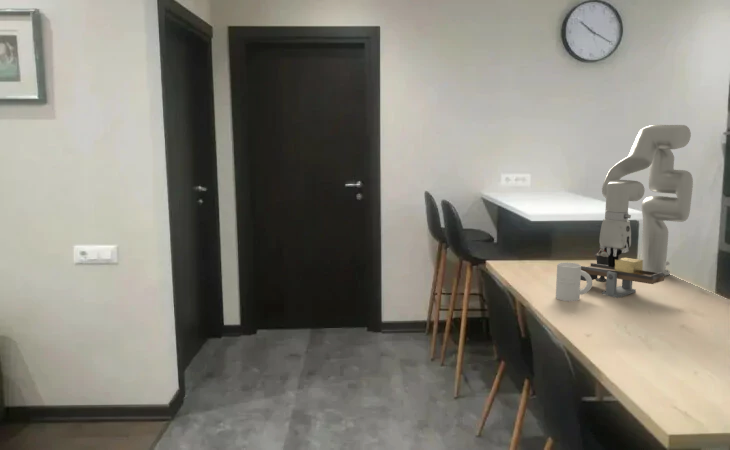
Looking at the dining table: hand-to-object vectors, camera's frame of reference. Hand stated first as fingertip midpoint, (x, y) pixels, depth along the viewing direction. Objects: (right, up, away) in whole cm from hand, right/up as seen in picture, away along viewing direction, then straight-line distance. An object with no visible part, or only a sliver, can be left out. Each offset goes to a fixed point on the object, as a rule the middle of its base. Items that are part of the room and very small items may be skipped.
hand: (612, 266), depth 225 cm
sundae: (+3, -7, +18) cm, 19 cm away
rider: (+4, -2, -4) cm, 6 cm away
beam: (+2, -7, -1) cm, 7 cm away
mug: (-17, -11, -7) cm, 21 cm away
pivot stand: (+2, -10, 0) cm, 10 cm away
